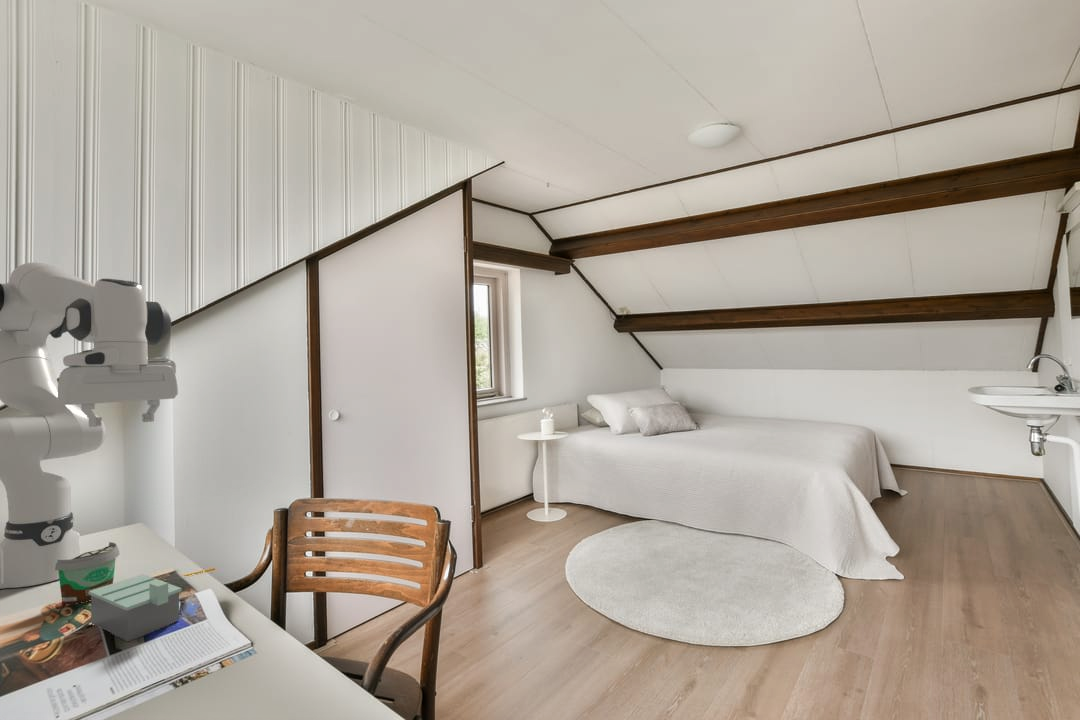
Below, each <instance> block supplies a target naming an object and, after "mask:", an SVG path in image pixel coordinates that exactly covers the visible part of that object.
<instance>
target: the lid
mask: <svg viewBox="0 0 1080 720" xmlns="http://www.w3.org/2000/svg"><path fill="white" fill-rule="evenodd" d="M182 589H183V587H179V586H176V585H174V584H171V583H168V582H164V581H162V580H161V579H158V578H156V577H152V576H149V575H147V574H144V573H142V574H139V575H136V576H133V577H132V576H131V577H129V578H126V579H123V580H120V581H117V582H113V584H110V585H107V586H104V587H100V588H97V589H94V590H91V591H89V595H92V596H94V597H96V598H99V599H101V600H103V601H105V602H108V603H110V604H112V605H115V606H117V607H119V608H121V609H124V610H126V611H127V610H130V609H133V608H136V607H139V606H141V605H144V604H147V603H153V604H155V605H161V604H164V603H167V602H168V596H169V595H172V594H175V593H178V592H179V593H180V592H182Z"/></svg>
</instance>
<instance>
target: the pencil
mask: <svg viewBox="0 0 1080 720" xmlns="http://www.w3.org/2000/svg"><path fill="white" fill-rule="evenodd" d="M215 570H216V567H211V568H208V569H204V570H200V571H195V572H190V573H187V574H183V575H181V576H188V577H190V576H189V575H192V574H196V575H199V574H198V573H200V574H203V571H205V572H204V573H207V572H211V571H215ZM201 572H202V573H201ZM192 576H193V575H192Z"/></svg>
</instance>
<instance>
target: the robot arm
mask: <svg viewBox="0 0 1080 720" xmlns="http://www.w3.org/2000/svg"><path fill="white" fill-rule="evenodd" d="M171 329H172V319H171V316H170V313H169V312H168V311H167V310H166V308H165V307H164V306H163V305H161V304H160V303H159V302H157V301H147V300H146V296H145V291H144V288H143V286H142V285H141V284H140V283H138V282H136V281H132V280H123V279H117V278H116V279H114V278H101V279H97V281H96V282H95V284H94V283H92V282H90V281H87V280H84V279H83V278H81V277H78V276H77V275H74V274H73V273H70V272H68V271H67V270H64V269H63V268H60V267H58V266H55V265H52V264H49V263H43V262H27V263H23V264H21V265H19V266H17V267H15V269H13V271H12V272H11V273H10V277H9V281H8V282H6V283H0V402H2V403H3V404H4V405H5V406H7V407H9V408H11V409H14V410H18V411H21V412H24V413H26V414H27V415H20V416H6V417H5V416H4V417H0V481H1V482H2V484H3V486H4V488H5V492H6V498H7V509H8V511H7V512H8V521H7V522H6V523H5V527H4V530H3V531H4V534H3V537H4V538H3V540H2V541H1V542H0V590H2V589H10V588H11V589H12V588H23V587H31V586H37V585H42V584H46V583H50V582H54V581H56V580H57V581H58V580H59V572H58V570H55V567H56V563H57V560H70V559H73V558H75V557H78V556H80V555H81V554H82V545H81V544H82V543H81V535H80V533H79V532H78V531H76V530H74V529H73V527H74V515H73V512H72V510H71V509H72V508H71V503H72V502H71V499H72V497H71V495H72V493H71V484H70V482H69V481H68V480H67V479H66V478H65V477H63V476H61V475H58V474H54V473H50V472H46V471H43V470H42V467H41V461H44V460H45V461H46V460H52V459H59V458H60V459H61V458H66V457H67V458H68V457H76V456H80V455H83V454H86V453H91V452H93V451H96V450H98V449H99V448H100V447H101V446H102V444H103V443H104V442H105V439H106V436H107V429H106V428H107V427H106V424H105V423H104V421H103V420H102V419H103V418H102V416H101V417H100V416H99V415H97V414H95V413H94V411H93V410H95V408H96V404H105V403H106V404H108V403H122V402H123V403H125V402H137V401H138V402H140V401H141V402H142V401H147V402H146V403H147V405H148V406H149V407H148V409H147V411H146V413H145V412H144V413H141V416H142V419H141V420H142V421H141V422H142V423H148V422H149V423H151V422H154V421H155V413H156V412H157V410H158V409H159V407H160V403H161V401H160V400H173V399H175V398H176V397H177V395H178V394H179V390H178V381H177V377H176V375H177V374H176V373H177V365H176V362H175V361H174V360H172V359H170V358H169V357H165V356H164V357H163V356H162V357H155V356H149V354H148V353H149V351H148V350H149V349H148V348H149V347H148V346H156V345H157V344H159V343H160V342H162V341H163V340H164V339H165V338H166V337H167V336H169V333H170V332H171ZM67 332H68V334H69V335H70V336H72V337H73V338H74V339H75V340H77V341H78V342H84V343H93V348H91V349H86V350H83V351H81V352H76V353H72V354H71V353H70V354H68V355H66V356H64V357H63V358H62V359H63V360H62V363H63V365H64V367H65V366H66V368H63V369H62V371H61V372H60V373H59V377H58V379H57V376H56V373H55V371H54V366H53V363H52V358H51V355H50V353H49V351H48V348H47V339H48V337H49V335H50V336H51V337H52V338H54V339H58V338H61V337H62V336H63V334H65V333H67ZM79 405H80V406H79Z"/></svg>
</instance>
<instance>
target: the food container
mask: <svg viewBox="0 0 1080 720" xmlns="http://www.w3.org/2000/svg"><path fill="white" fill-rule="evenodd" d="M119 556H120V550H119V547H118V544H117V543H115V542H112V541H109V542H108V546H105V547H103V548H100V549H97V550H93V551H91V550H90V551H87V552H84V553H81V555H80V556H78V557H75V558H73V559H70V560H57V563H56V567H55V570H58V572H59V579H58V580H59V588H60V595H61V596H60V597H61V603H62V604H75V605H77V604H76V603H81V602H86V601H89V600H91V595H89V591H91V590H94V589H97V588H100V587H104V586H107V585H110V584H113V583H114V577H115V568H116V561H117V560H116V558H118V557H119ZM86 603H87V602H86ZM81 604H82V603H81Z"/></svg>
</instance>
